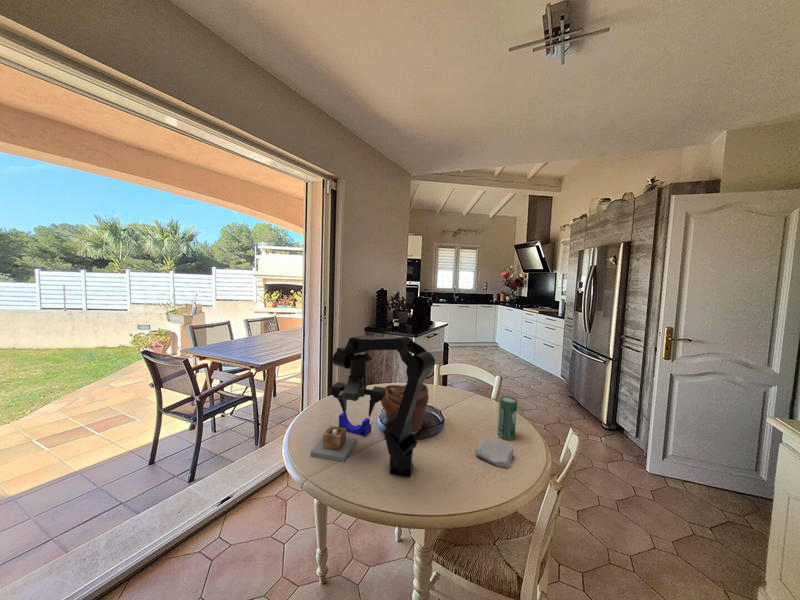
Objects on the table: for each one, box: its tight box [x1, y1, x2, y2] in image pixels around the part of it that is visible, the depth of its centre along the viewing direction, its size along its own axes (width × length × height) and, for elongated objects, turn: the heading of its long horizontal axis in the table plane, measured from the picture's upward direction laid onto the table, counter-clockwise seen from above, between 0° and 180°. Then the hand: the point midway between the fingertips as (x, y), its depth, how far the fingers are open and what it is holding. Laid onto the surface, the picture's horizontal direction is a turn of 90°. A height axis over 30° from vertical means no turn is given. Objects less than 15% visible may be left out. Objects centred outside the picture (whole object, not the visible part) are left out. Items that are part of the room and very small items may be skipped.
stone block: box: [475, 437, 514, 469], centre depth 105 cm, size 12×5×10 cm
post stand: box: [310, 428, 358, 463], centre depth 105 cm, size 12×12×7 cm
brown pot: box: [380, 383, 430, 436], centre depth 121 cm, size 18×20×18 cm
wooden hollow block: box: [322, 425, 347, 451], centre depth 105 cm, size 6×6×5 cm
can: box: [497, 395, 518, 441], centre depth 118 cm, size 6×6×15 cm
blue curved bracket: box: [338, 412, 372, 438], centre depth 118 cm, size 12×4×6 cm, turn 67°
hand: (357, 414), depth 106 cm, fingers open, 9 cm apart
